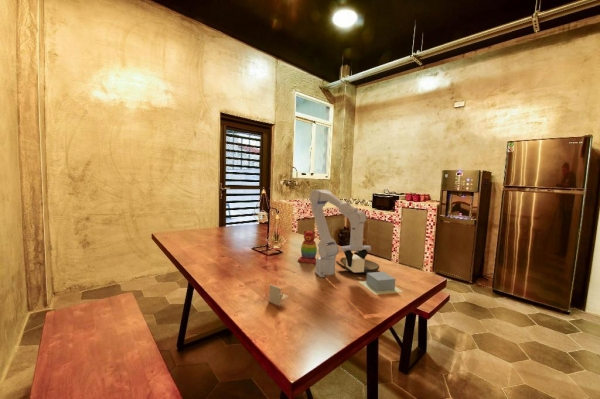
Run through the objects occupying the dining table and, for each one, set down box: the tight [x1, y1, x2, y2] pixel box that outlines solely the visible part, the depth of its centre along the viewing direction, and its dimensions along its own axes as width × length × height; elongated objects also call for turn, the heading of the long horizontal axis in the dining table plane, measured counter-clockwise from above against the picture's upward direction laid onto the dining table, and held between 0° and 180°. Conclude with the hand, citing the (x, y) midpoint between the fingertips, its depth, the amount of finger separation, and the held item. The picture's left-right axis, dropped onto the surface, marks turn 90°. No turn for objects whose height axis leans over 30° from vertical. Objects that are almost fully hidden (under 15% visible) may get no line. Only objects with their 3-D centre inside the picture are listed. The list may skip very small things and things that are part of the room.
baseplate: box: [359, 280, 404, 296], centre depth 118 cm, size 14×14×1 cm
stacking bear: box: [297, 230, 318, 265], centre depth 152 cm, size 11×10×18 cm
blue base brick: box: [365, 271, 396, 292], centre depth 118 cm, size 9×9×5 cm
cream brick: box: [346, 254, 365, 273], centre depth 120 cm, size 5×8×6 cm, turn 17°
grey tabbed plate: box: [268, 283, 289, 307], centre depth 101 cm, size 3×7×7 cm, turn 53°
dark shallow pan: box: [335, 251, 380, 274], centre depth 142 cm, size 22×30×8 cm
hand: (354, 265), depth 120 cm, fingers closed on cream brick, 5 cm apart
